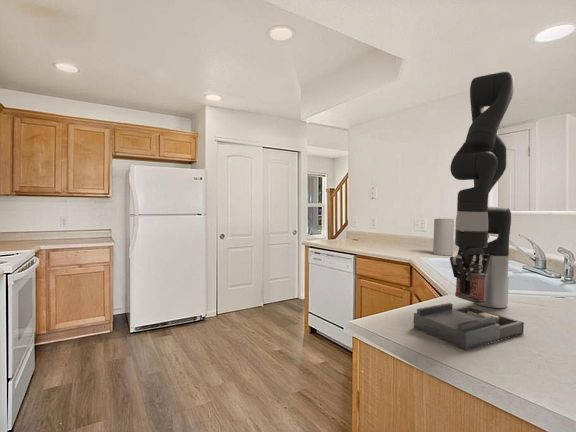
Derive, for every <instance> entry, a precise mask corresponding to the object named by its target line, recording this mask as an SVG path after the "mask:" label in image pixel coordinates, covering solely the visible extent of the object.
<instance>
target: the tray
mask: <svg viewBox="0 0 576 432" xmlns="http://www.w3.org/2000/svg"><path fill="white" fill-rule="evenodd" d="M453 310H457V311H460V312H463V313H466V314H467V312H468V311H471V312H474V313H477V314H479V313H484V312H485V313H488V314H492V315H495V316H498V317H499V325H500V336H499V340H500V341H502V340H501V339H503V340H506V339H505V338H507V339H509V338H508V337H510V338H513V336H514V337H516V335H517V336H520V335H524V329H525V327H524V326H525V325H524V324H525V322H524V321H520V320H517V319H513V318H510V317H507V316H505V315H504V316H503V315H501V314H497V313H495V312H491V311H487V310H483V309H481V308H477V307H474V306H471V305H468V306H463V307H458V308H453Z"/></svg>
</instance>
